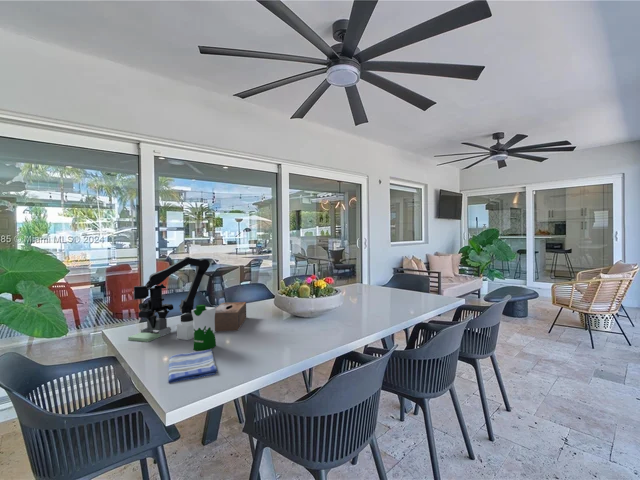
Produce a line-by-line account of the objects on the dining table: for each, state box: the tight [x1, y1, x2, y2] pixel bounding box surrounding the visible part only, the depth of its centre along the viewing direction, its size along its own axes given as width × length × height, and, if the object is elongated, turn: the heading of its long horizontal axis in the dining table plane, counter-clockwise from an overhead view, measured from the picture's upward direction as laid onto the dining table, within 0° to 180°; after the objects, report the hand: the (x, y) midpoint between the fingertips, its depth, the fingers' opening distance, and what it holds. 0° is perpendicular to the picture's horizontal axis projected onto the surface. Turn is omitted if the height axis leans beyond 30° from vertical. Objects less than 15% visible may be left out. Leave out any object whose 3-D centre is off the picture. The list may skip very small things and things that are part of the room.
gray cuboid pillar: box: [146, 317, 168, 331], centre depth 170 cm, size 8×5×5 cm, turn 74°
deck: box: [127, 326, 171, 343], centre depth 165 cm, size 12×15×3 cm
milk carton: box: [191, 303, 217, 351], centre depth 146 cm, size 9×9×20 cm
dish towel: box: [167, 349, 218, 384], centre depth 126 cm, size 17×24×3 cm
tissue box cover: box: [215, 301, 247, 332], centre depth 185 cm, size 26×14×10 cm, turn 3°
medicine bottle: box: [176, 313, 194, 341], centre depth 162 cm, size 7×7×12 cm
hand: (157, 326), depth 170 cm, fingers closed on gray cuboid pillar, 5 cm apart
